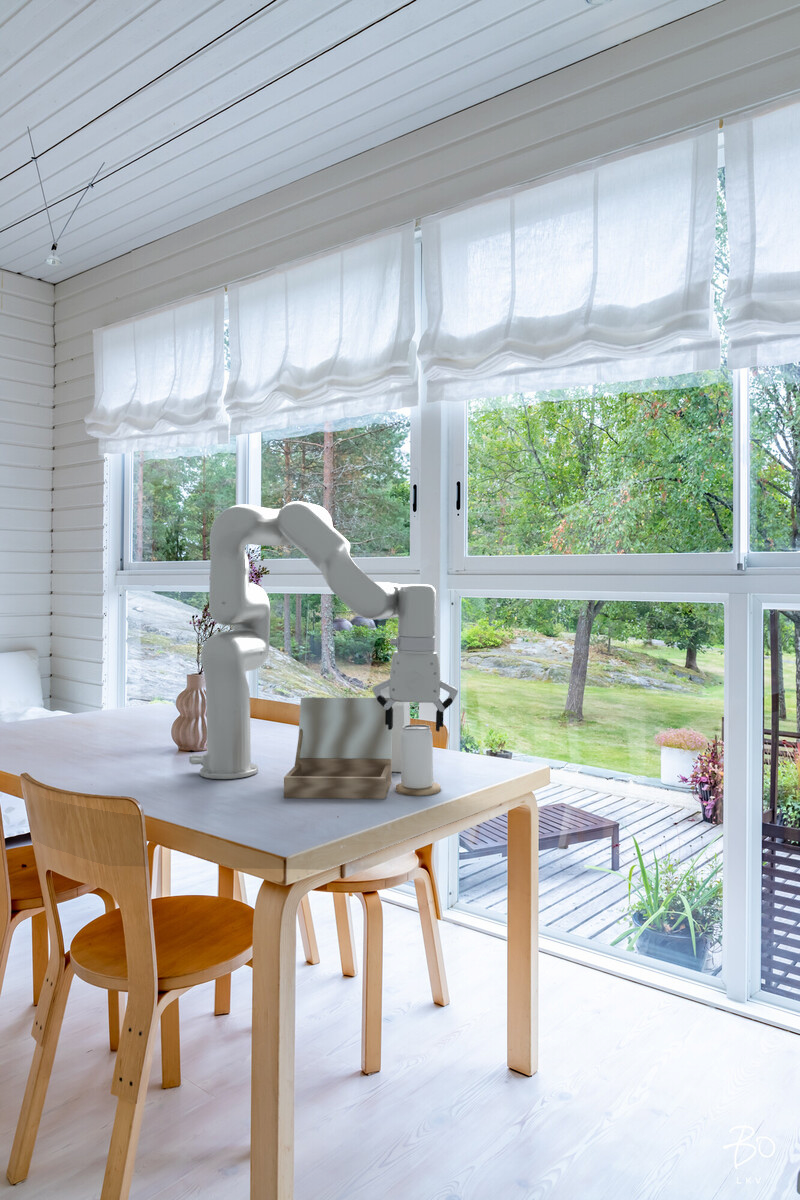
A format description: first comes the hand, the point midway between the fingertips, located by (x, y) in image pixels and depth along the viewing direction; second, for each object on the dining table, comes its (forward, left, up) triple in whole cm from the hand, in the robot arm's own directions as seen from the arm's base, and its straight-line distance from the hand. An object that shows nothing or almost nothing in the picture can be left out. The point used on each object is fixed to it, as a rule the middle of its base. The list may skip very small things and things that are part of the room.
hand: (414, 729), depth 162 cm
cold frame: (-15, +2, -12) cm, 20 cm away
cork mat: (+1, 0, -12) cm, 12 cm away
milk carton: (-6, +19, -13) cm, 23 cm away
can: (+1, 0, -12) cm, 12 cm away
